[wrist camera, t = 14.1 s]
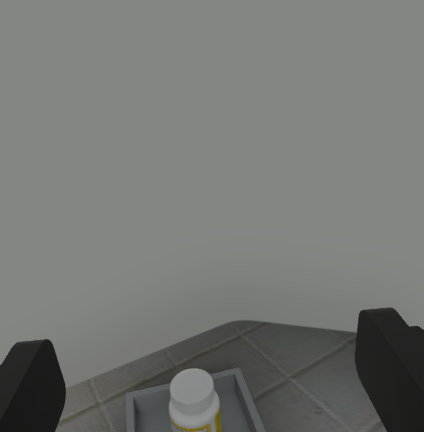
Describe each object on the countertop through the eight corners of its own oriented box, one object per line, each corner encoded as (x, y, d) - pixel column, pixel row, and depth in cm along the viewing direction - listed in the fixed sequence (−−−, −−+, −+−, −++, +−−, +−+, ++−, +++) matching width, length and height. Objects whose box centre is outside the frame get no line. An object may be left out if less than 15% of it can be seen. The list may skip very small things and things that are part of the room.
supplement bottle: (201, 418, 39) (195, 357, 36) (233, 448, 36) (229, 382, 33) (165, 449, 36) (155, 385, 33) (196, 484, 33) (188, 416, 30)
